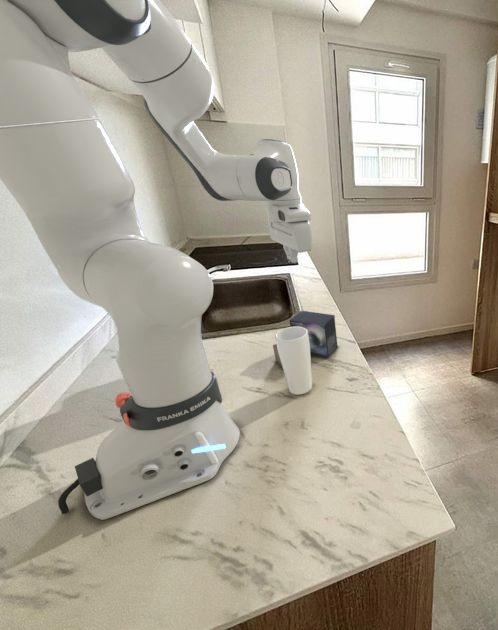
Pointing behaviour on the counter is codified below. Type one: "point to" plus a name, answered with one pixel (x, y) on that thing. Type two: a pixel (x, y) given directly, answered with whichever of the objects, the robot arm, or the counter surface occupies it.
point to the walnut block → (277, 355)
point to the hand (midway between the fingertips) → (292, 261)
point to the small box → (318, 331)
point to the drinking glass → (295, 358)
